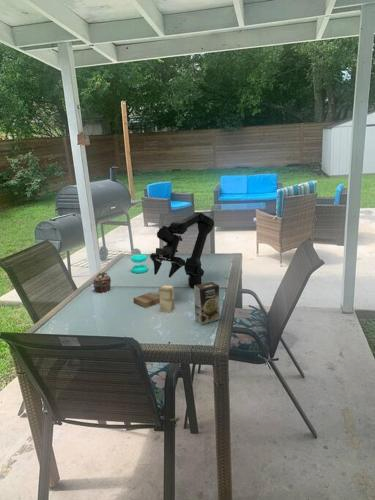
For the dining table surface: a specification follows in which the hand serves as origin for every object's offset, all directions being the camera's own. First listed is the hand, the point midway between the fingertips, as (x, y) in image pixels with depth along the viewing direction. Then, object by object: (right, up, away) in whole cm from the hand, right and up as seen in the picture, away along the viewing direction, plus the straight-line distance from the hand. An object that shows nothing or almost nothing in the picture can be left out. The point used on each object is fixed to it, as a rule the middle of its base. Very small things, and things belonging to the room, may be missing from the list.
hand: (162, 275), depth 190 cm
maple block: (+3, -15, -7) cm, 17 cm away
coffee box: (+21, -18, -20) cm, 34 cm away
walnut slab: (-7, -14, +3) cm, 16 cm away
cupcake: (-34, -10, +24) cm, 43 cm away
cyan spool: (-18, -1, +55) cm, 58 cm away
